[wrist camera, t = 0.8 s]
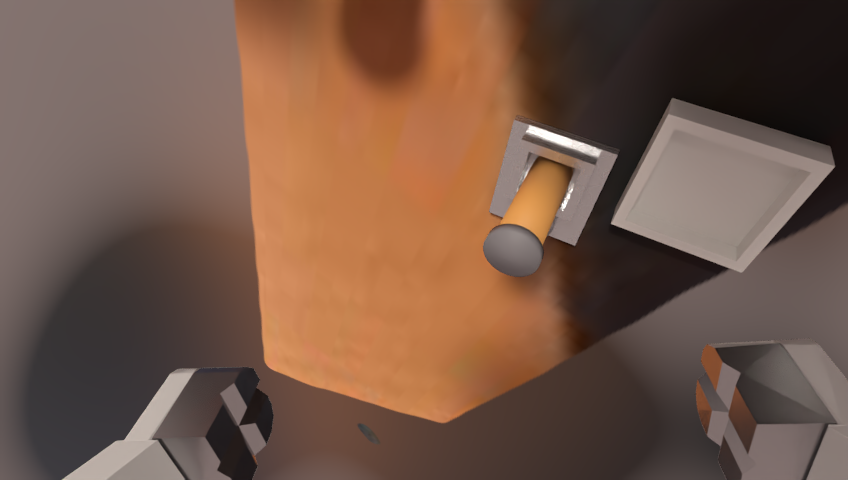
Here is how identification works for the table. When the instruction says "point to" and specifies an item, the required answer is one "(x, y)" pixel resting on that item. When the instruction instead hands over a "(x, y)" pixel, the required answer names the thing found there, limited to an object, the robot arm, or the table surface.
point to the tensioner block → (565, 148)
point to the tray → (719, 184)
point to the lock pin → (528, 219)
